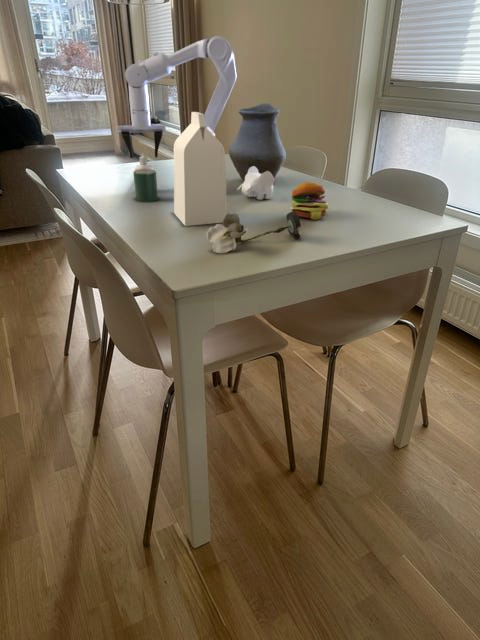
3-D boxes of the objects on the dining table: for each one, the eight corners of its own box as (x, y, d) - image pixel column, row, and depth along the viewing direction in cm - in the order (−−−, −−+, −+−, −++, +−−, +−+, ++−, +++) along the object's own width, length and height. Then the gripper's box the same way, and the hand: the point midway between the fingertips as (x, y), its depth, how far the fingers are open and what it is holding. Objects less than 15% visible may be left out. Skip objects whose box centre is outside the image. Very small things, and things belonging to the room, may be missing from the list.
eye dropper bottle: (149, 194, 144) (145, 154, 139) (134, 191, 147) (131, 152, 141) (157, 191, 148) (154, 152, 142) (143, 189, 150) (139, 150, 144)
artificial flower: (306, 248, 107) (310, 212, 100) (214, 269, 102) (212, 232, 95) (291, 228, 113) (294, 192, 106) (204, 246, 108) (201, 210, 101)
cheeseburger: (299, 221, 121) (298, 182, 118) (285, 219, 131) (283, 183, 128) (333, 218, 123) (333, 180, 121) (317, 217, 133) (316, 181, 131)
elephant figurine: (232, 196, 144) (233, 167, 139) (265, 192, 149) (266, 164, 144) (247, 203, 136) (248, 173, 132) (281, 199, 142) (282, 170, 137)
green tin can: (161, 198, 140) (160, 170, 136) (149, 202, 135) (147, 174, 131) (144, 195, 143) (142, 168, 139) (131, 200, 138) (128, 171, 134)
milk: (174, 213, 126) (168, 111, 114) (213, 210, 130) (212, 110, 117) (185, 226, 116) (180, 115, 104) (227, 222, 120) (227, 114, 107)
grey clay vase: (219, 184, 158) (219, 105, 146) (239, 172, 176) (240, 101, 164) (277, 189, 153) (281, 108, 141) (291, 176, 171) (296, 103, 159)
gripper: (163, 109, 142) (166, 154, 148) (115, 108, 139) (120, 155, 146) (164, 111, 136) (167, 158, 142) (115, 111, 133) (120, 159, 140)
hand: (143, 157), depth 144 cm, fingers open, 7 cm apart
